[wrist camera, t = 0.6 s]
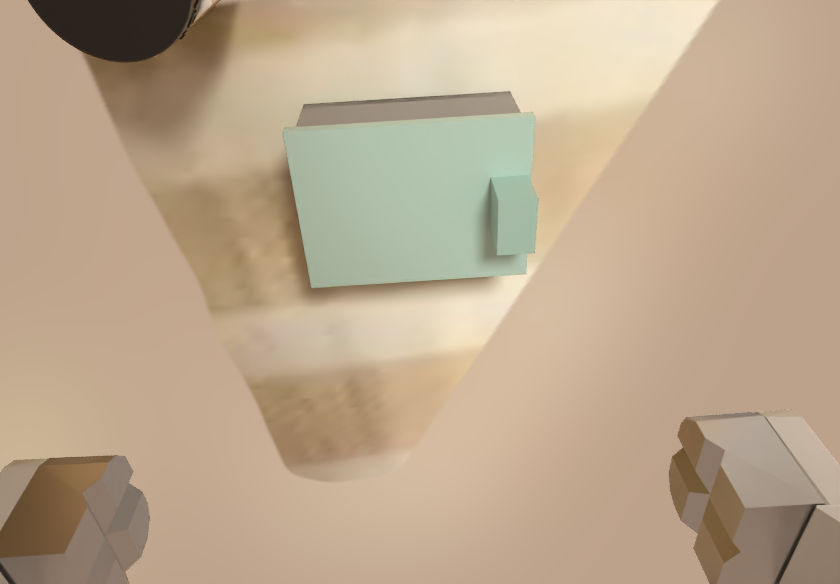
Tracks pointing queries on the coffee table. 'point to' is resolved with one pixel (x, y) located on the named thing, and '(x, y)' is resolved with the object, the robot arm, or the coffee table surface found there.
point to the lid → (415, 198)
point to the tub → (407, 109)
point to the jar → (121, 25)
